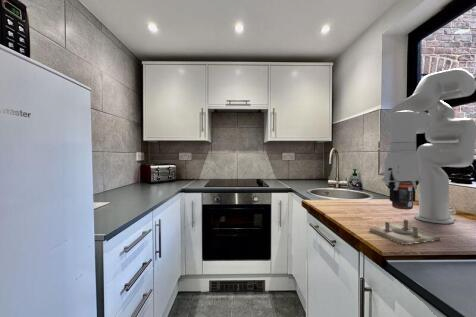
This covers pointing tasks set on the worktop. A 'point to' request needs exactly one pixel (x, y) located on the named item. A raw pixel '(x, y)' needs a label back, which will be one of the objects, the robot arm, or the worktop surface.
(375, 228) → the pin board
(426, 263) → the worktop surface
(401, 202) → the supplement bottle
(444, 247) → the worktop surface
